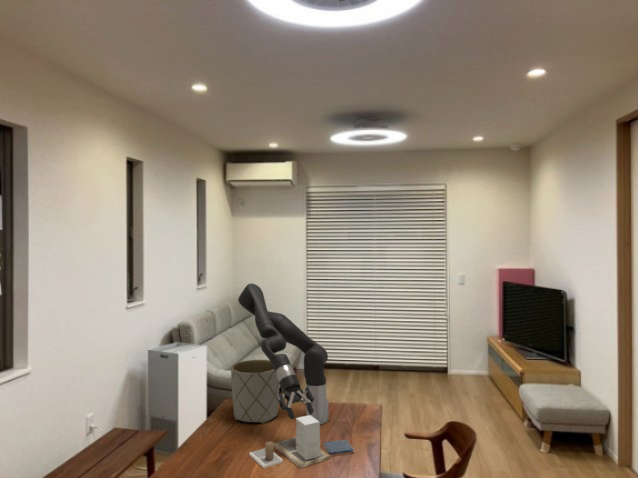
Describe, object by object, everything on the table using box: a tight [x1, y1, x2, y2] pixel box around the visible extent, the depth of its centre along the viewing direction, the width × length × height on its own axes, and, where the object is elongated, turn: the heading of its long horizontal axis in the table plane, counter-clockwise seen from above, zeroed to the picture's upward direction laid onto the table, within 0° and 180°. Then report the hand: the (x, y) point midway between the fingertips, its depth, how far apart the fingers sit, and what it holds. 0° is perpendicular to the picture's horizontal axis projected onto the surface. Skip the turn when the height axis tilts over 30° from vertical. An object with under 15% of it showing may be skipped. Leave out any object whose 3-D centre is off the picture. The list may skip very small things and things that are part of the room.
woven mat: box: [322, 439, 355, 457], centre depth 181 cm, size 10×11×2 cm
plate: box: [248, 440, 284, 469], centre depth 173 cm, size 8×12×7 cm, turn 33°
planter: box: [230, 359, 280, 424], centre depth 215 cm, size 23×23×24 cm
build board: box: [273, 436, 331, 469], centre depth 178 cm, size 13×21×1 cm, turn 33°
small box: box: [295, 415, 321, 460], centre depth 174 cm, size 8×6×13 cm
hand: (302, 416), depth 178 cm, fingers open, 8 cm apart
